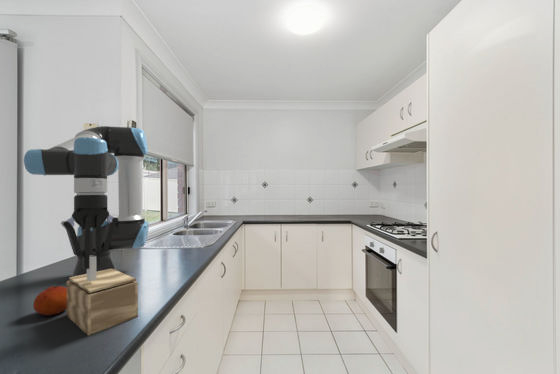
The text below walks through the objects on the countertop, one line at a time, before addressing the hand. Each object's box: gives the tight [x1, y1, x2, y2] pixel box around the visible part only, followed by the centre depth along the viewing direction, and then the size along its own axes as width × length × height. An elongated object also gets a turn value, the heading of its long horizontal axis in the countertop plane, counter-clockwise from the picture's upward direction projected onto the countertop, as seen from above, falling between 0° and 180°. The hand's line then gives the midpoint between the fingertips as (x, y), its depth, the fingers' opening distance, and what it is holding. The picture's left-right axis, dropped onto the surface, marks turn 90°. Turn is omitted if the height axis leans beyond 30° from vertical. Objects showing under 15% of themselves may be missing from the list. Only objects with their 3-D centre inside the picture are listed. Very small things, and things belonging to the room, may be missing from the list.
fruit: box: [33, 285, 67, 316], centre depth 79 cm, size 9×9×8 cm
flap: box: [68, 269, 137, 293], centre depth 76 cm, size 17×11×1 cm, turn 53°
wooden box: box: [66, 280, 139, 337], centre depth 76 cm, size 18×12×10 cm, turn 53°
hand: (91, 279), depth 72 cm, fingers closed
